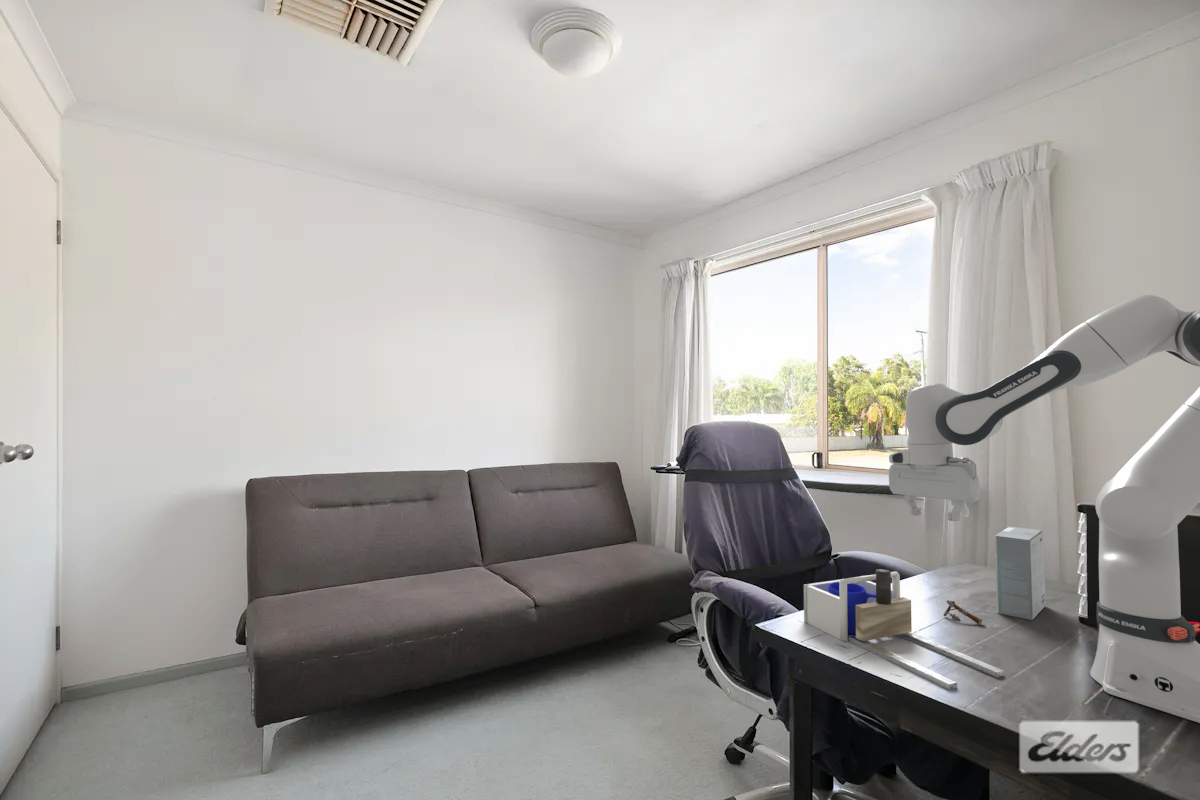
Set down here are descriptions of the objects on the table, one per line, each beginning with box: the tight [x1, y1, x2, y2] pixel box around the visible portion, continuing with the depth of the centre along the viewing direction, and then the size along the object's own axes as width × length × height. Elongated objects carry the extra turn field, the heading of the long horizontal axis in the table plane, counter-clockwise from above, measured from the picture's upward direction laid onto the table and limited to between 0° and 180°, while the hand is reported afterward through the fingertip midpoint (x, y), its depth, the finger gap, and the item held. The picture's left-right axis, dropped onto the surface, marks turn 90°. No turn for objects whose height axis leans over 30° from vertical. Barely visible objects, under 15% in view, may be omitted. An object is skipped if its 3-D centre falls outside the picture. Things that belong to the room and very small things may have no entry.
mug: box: [828, 582, 876, 635], centre depth 133 cm, size 8×12×10 cm
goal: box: [803, 571, 901, 642], centre depth 136 cm, size 13×18×14 cm
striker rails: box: [848, 632, 1005, 691], centre depth 118 cm, size 24×15×1 cm, turn 21°
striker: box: [855, 568, 913, 641], centre depth 127 cm, size 3×14×14 cm, turn 111°
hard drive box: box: [994, 526, 1047, 621], centre depth 147 cm, size 16×8×20 cm, turn 132°
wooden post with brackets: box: [943, 599, 984, 626], centre depth 139 cm, size 2×8×4 cm, turn 44°
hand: (934, 517), depth 127 cm, fingers open, 8 cm apart
